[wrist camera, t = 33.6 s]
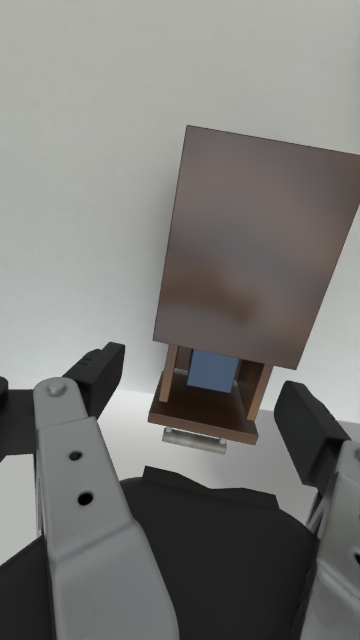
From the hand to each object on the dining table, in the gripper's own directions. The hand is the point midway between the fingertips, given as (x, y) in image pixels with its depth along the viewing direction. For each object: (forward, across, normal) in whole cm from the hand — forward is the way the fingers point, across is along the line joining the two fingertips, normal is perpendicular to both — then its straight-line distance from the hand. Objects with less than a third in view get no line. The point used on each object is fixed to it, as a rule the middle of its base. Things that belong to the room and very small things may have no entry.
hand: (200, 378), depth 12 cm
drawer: (+16, -2, +6) cm, 17 cm away
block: (+14, -2, +5) cm, 15 cm away
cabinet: (+16, -2, -6) cm, 18 cm away
